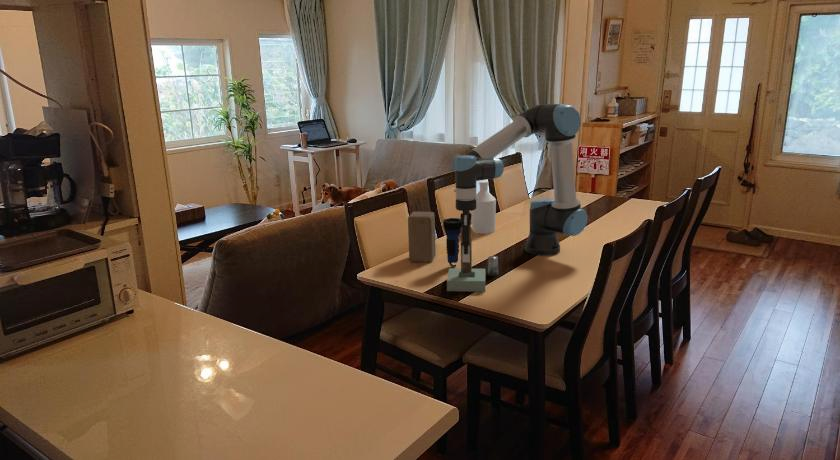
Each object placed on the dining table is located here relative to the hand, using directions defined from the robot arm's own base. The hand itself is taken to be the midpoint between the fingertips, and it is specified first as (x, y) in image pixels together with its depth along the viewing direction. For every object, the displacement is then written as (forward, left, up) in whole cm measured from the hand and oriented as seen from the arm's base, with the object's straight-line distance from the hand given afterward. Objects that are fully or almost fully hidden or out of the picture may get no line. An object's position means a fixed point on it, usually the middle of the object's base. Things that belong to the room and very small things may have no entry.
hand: (466, 259), depth 221 cm
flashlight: (+6, -20, -10) cm, 23 cm away
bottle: (-6, -77, -10) cm, 78 cm away
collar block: (0, 0, -10) cm, 10 cm away
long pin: (0, 0, -5) cm, 5 cm away
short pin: (-10, -12, -10) cm, 19 cm away
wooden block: (+20, -31, -10) cm, 38 cm away
